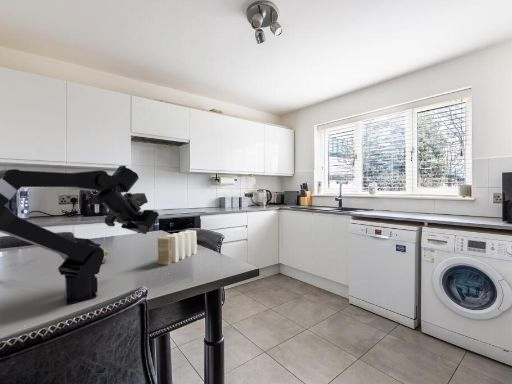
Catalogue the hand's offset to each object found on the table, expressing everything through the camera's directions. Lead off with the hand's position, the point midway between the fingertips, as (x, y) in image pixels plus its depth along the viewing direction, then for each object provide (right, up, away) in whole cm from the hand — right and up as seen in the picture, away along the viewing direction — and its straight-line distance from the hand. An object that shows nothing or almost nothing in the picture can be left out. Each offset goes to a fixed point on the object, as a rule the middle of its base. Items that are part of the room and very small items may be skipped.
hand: (145, 233), depth 88 cm
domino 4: (+8, -13, +20) cm, 25 cm away
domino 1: (+4, -13, +9) cm, 16 cm away
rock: (-25, -14, +8) cm, 30 cm away
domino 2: (+5, -13, +12) cm, 19 cm away
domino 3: (+7, -13, +16) cm, 22 cm away
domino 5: (+10, -13, +23) cm, 28 cm away
